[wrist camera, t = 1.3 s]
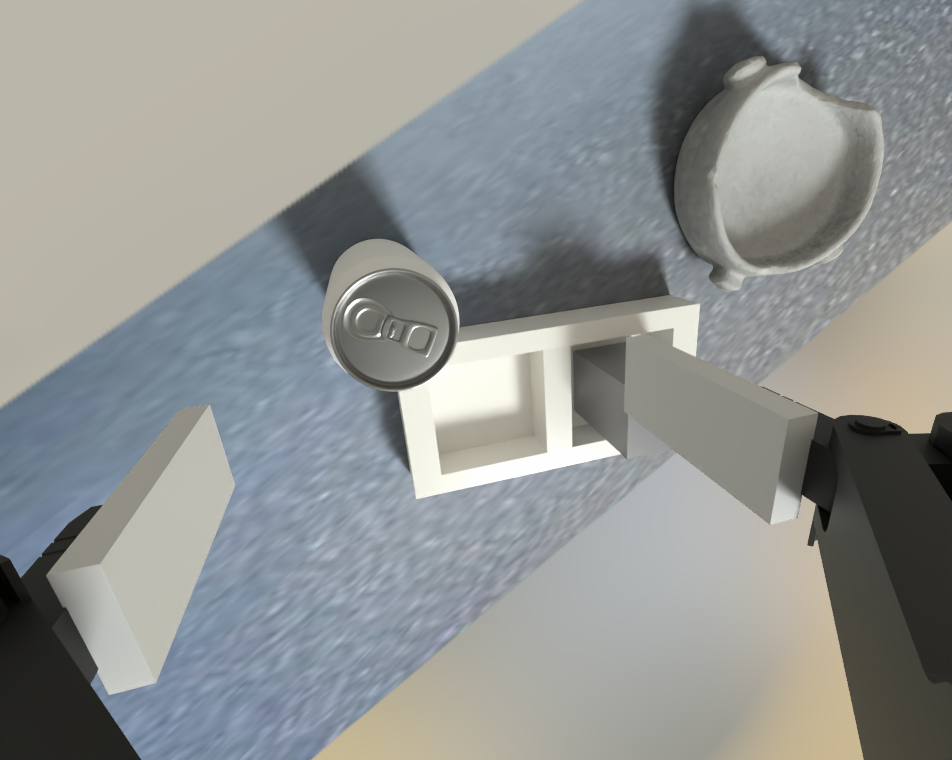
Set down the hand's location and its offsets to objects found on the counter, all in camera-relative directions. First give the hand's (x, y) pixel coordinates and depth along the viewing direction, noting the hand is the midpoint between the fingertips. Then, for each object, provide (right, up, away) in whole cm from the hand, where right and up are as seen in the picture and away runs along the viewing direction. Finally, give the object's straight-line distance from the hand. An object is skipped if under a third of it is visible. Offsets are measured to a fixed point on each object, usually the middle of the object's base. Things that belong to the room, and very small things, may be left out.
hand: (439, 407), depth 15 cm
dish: (+21, +16, +21) cm, 34 cm away
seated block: (+11, +1, +23) cm, 25 cm away
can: (-5, +7, +17) cm, 19 cm away
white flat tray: (+6, +1, +22) cm, 23 cm away
